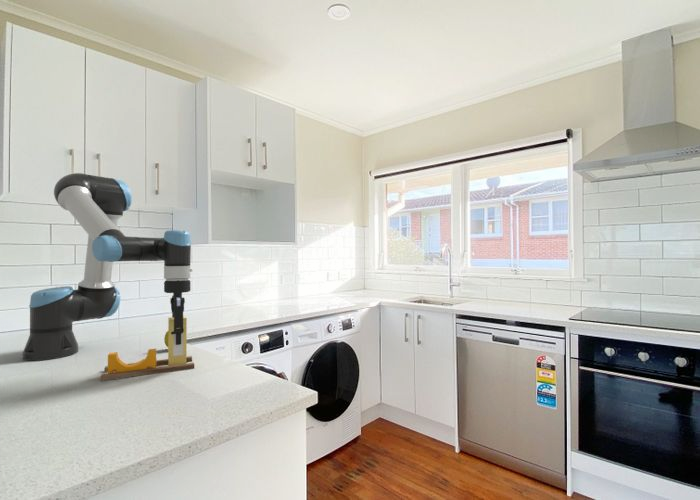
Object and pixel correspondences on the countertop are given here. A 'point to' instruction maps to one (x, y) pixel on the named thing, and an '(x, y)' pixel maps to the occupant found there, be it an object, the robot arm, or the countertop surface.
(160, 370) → the channel
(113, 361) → the pipe clamp
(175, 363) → the yellow rectangular block
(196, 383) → the countertop surface
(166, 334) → the lemon
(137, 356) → the countertop surface
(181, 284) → the robot arm
